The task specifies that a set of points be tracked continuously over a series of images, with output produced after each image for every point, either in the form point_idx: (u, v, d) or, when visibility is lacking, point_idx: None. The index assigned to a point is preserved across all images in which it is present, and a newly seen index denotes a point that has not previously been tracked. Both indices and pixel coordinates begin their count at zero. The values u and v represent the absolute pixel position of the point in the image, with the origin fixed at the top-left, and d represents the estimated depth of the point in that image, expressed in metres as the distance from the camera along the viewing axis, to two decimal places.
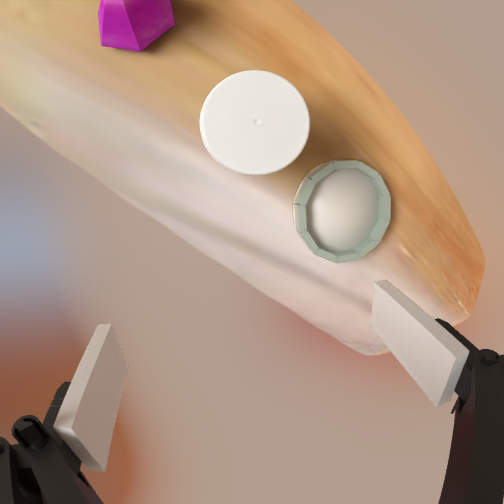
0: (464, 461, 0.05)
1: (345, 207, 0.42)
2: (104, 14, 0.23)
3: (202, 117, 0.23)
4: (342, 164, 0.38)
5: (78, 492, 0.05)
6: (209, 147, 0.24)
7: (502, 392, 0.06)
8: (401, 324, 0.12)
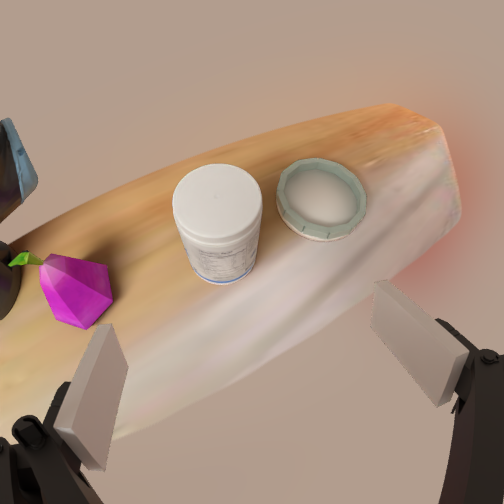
0: (464, 461, 0.05)
1: (319, 195, 0.48)
2: (61, 298, 0.32)
3: (193, 232, 0.29)
4: (281, 184, 0.46)
5: (78, 492, 0.05)
6: (220, 236, 0.29)
7: (502, 392, 0.06)
8: (401, 324, 0.12)
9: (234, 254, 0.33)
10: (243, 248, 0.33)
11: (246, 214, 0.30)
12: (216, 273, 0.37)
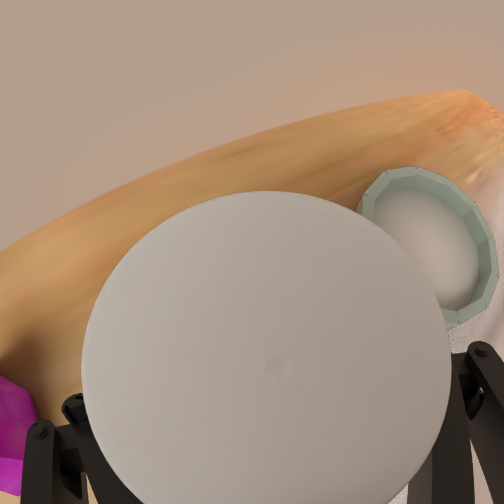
0: (426, 464, 0.06)
1: (425, 240, 0.23)
2: None
3: None
4: None
5: None
6: None
7: (458, 389, 0.07)
8: None
9: None
10: None
11: (409, 437, 0.05)
12: None
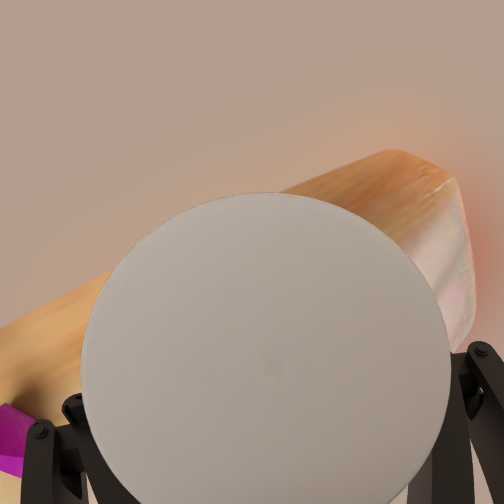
0: (426, 464, 0.06)
1: None
2: None
3: None
4: None
5: None
6: None
7: (458, 389, 0.07)
8: None
9: None
10: None
11: (408, 440, 0.05)
12: None
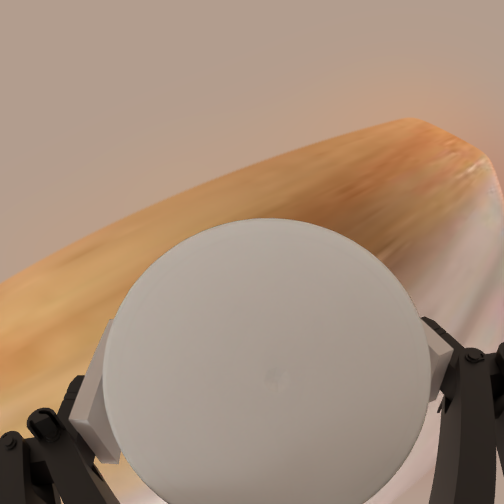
0: (453, 462, 0.05)
1: None
2: None
3: None
4: None
5: (92, 486, 0.05)
6: None
7: (489, 391, 0.07)
8: None
9: None
10: None
11: (390, 439, 0.06)
12: None
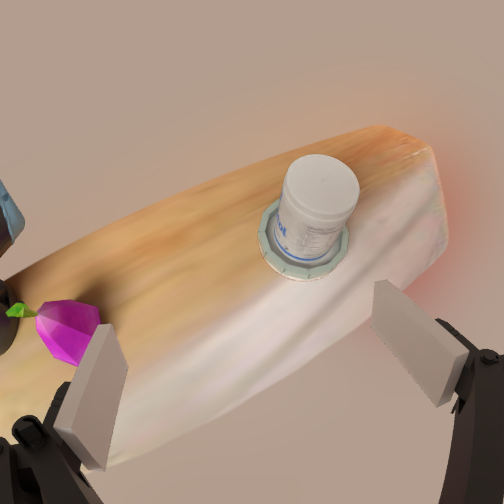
0: (464, 461, 0.05)
1: None
2: (57, 343, 0.34)
3: (312, 209, 0.34)
4: (262, 224, 0.48)
5: (78, 492, 0.05)
6: (334, 213, 0.34)
7: (502, 392, 0.06)
8: (401, 324, 0.12)
9: (334, 231, 0.38)
10: (341, 226, 0.38)
11: (350, 196, 0.35)
12: (309, 250, 0.42)
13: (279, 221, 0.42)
